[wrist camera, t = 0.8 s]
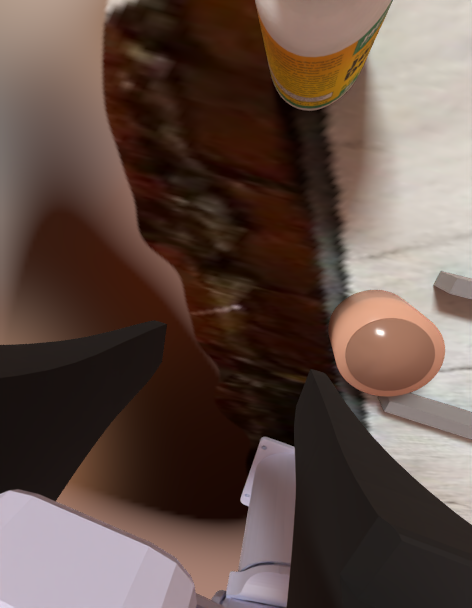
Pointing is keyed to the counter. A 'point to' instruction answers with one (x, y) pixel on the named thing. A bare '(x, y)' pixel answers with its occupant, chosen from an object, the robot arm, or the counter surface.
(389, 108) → the counter surface
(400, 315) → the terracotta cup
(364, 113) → the counter surface
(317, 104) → the supplement bottle
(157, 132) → the counter surface
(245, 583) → the robot arm
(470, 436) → the holder
